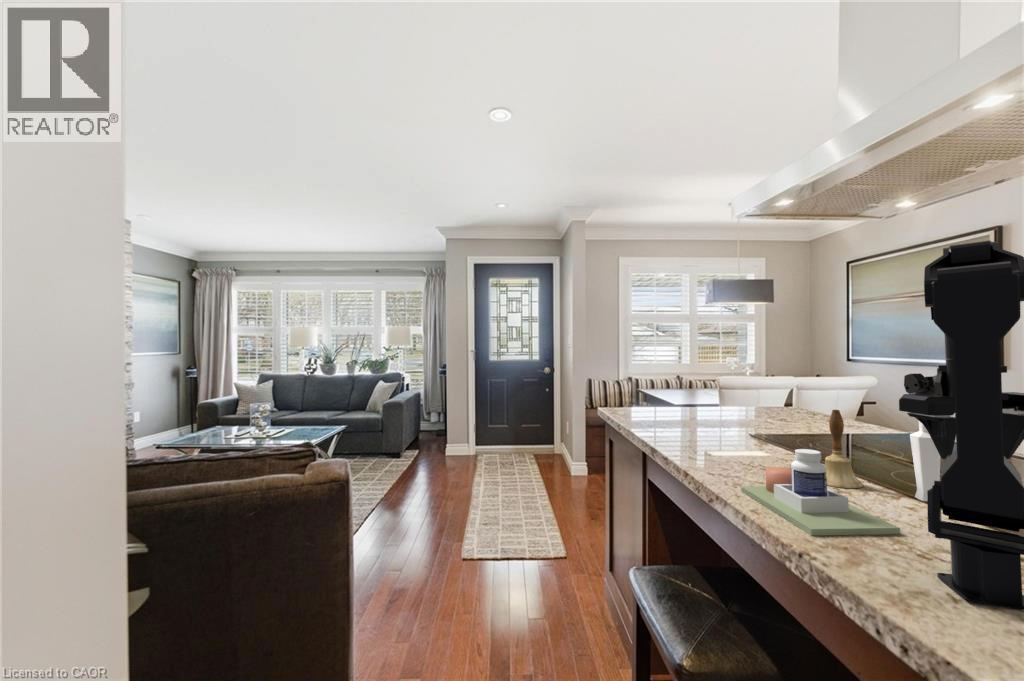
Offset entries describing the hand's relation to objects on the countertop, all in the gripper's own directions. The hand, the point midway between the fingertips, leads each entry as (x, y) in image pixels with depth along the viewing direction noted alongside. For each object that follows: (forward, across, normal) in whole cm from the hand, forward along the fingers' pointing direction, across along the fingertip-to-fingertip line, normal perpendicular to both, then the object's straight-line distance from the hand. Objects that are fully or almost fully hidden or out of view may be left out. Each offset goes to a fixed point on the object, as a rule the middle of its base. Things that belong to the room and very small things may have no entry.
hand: (975, 458), depth 69 cm
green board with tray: (+12, +18, -12) cm, 25 cm away
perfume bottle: (+12, -8, -16) cm, 22 cm away
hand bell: (+12, +2, -28) cm, 30 cm away
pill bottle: (+11, +18, -12) cm, 25 cm away
